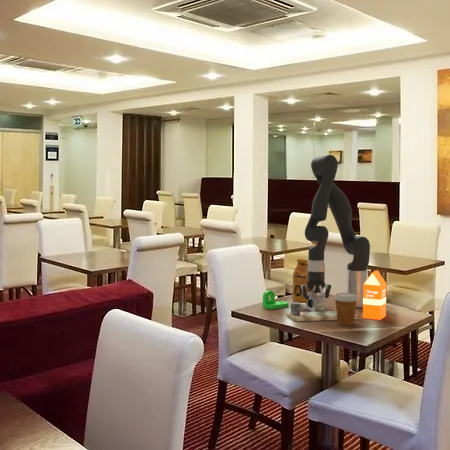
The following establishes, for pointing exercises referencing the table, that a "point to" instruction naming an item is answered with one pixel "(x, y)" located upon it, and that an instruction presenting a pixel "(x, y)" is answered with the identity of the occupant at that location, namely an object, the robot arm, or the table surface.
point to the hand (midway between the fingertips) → (315, 307)
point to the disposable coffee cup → (345, 308)
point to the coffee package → (300, 281)
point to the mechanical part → (272, 301)
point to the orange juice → (374, 297)
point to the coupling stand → (310, 313)
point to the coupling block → (317, 303)
